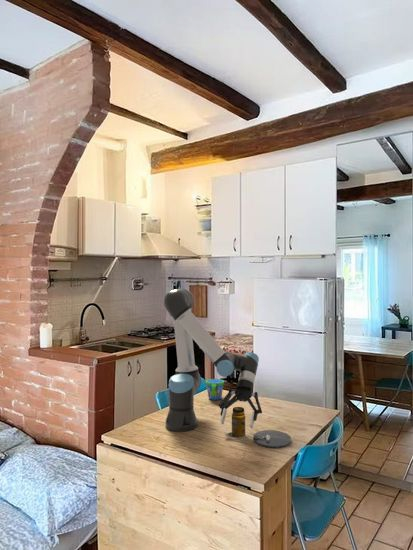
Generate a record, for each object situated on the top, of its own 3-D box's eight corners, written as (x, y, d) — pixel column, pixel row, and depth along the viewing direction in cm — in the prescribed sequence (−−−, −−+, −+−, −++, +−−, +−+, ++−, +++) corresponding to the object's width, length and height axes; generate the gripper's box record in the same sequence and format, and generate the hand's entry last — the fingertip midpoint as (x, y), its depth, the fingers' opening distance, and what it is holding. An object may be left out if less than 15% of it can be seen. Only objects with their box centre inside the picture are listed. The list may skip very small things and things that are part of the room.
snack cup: (209, 394, 252) (208, 377, 252) (226, 395, 250) (226, 378, 250) (202, 402, 237) (202, 383, 237) (221, 403, 235) (221, 385, 235)
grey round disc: (248, 444, 179) (248, 434, 179) (258, 431, 193) (258, 421, 193) (286, 450, 172) (286, 439, 172) (293, 436, 187) (293, 426, 187)
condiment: (249, 435, 188) (249, 409, 188) (234, 440, 184) (234, 412, 184) (239, 430, 194) (239, 404, 194) (224, 434, 190) (224, 408, 190)
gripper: (273, 389, 199) (265, 432, 185) (223, 384, 208) (212, 425, 195) (270, 380, 194) (262, 424, 180) (219, 376, 203) (208, 417, 190)
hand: (236, 424), depth 187 cm, fingers open, 13 cm apart
